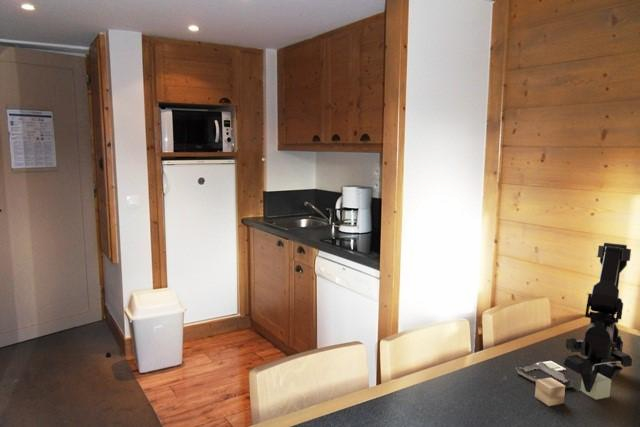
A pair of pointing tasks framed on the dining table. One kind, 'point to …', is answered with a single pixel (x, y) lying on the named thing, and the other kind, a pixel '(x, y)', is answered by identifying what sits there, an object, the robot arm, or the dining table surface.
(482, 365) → the dining table surface
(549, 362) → the card
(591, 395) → the sage block
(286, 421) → the dining table surface
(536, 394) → the honey block
